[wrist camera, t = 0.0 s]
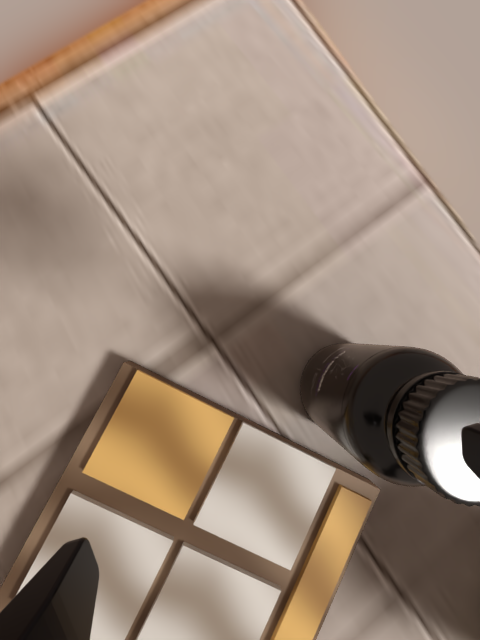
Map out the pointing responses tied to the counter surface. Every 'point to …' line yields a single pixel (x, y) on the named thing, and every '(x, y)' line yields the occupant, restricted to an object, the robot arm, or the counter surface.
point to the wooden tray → (199, 520)
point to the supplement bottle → (397, 413)
